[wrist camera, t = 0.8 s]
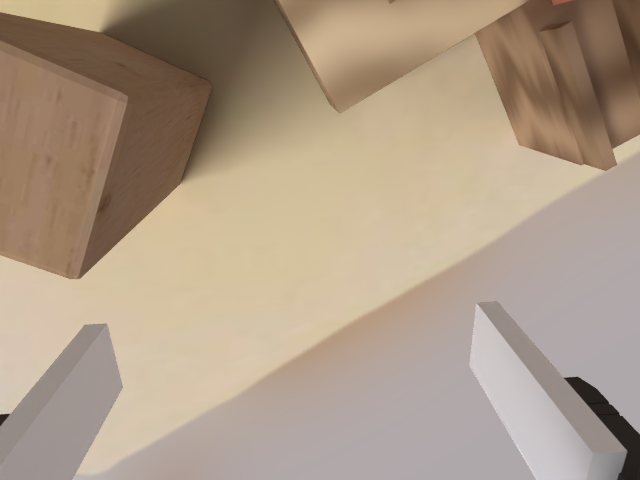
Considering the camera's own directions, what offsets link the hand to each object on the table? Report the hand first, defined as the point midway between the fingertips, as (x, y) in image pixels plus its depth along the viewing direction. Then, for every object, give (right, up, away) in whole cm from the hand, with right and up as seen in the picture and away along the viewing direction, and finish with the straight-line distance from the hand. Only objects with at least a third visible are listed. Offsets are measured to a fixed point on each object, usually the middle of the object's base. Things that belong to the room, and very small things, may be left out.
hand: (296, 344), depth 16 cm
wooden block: (-15, +15, +23) cm, 31 cm away
